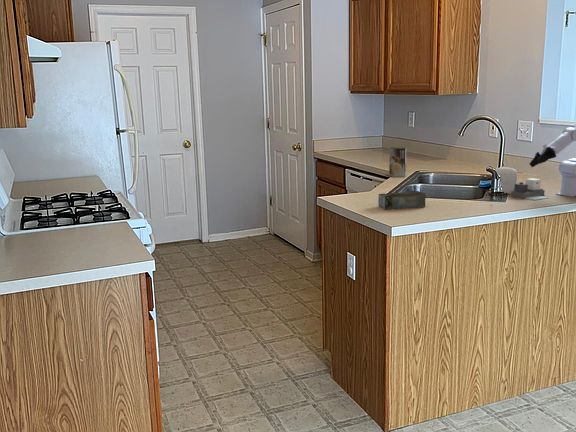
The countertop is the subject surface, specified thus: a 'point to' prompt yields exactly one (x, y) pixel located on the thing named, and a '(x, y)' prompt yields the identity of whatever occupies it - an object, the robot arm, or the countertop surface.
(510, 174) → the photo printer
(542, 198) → the pad
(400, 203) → the beverage carton
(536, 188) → the block
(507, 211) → the countertop surface
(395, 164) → the coffee box
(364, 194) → the countertop surface
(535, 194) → the power strip
